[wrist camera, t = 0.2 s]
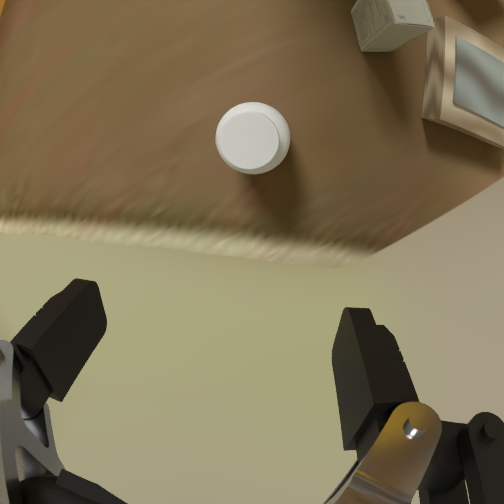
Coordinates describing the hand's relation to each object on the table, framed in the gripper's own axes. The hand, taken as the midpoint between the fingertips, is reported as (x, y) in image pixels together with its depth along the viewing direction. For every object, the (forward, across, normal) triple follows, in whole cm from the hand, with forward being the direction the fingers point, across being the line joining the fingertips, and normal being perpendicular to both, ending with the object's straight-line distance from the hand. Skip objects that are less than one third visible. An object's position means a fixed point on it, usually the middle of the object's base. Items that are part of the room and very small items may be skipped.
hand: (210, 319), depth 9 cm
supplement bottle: (+29, 0, -4) cm, 29 cm away
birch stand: (+29, -27, -16) cm, 43 cm away
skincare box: (+29, -12, -19) cm, 37 cm away
